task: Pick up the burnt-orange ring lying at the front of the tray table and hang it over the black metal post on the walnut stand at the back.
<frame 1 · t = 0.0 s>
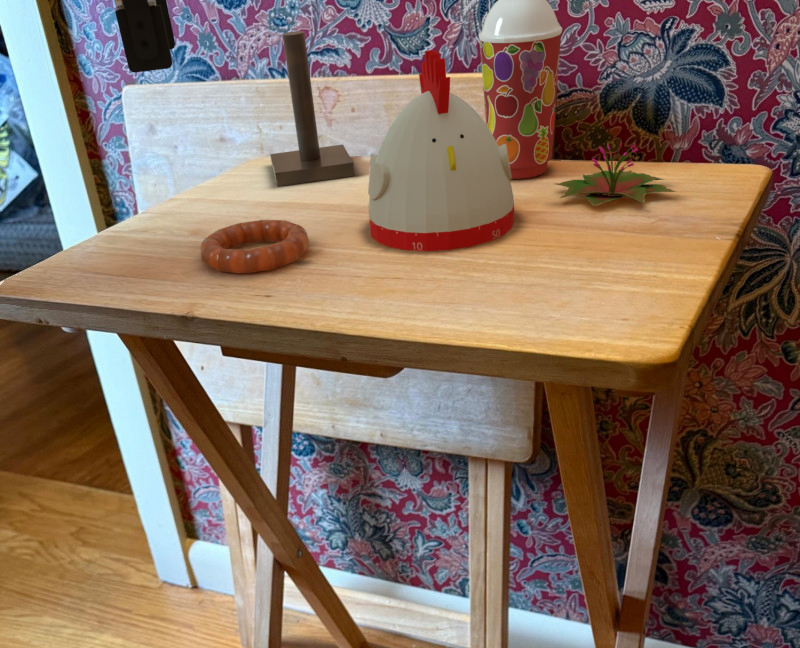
hand: (154, 59, 70), 18 cm above the table, tool pointing down, fingers open, 9 cm apart
ring: (254, 245, 83), point 1 cm above the table
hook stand: (312, 171, 106), on the table
kitchen timer: (441, 227, 86), on the table
lily flower: (612, 196, 89), on the table
smoothie: (520, 173, 98), on the table
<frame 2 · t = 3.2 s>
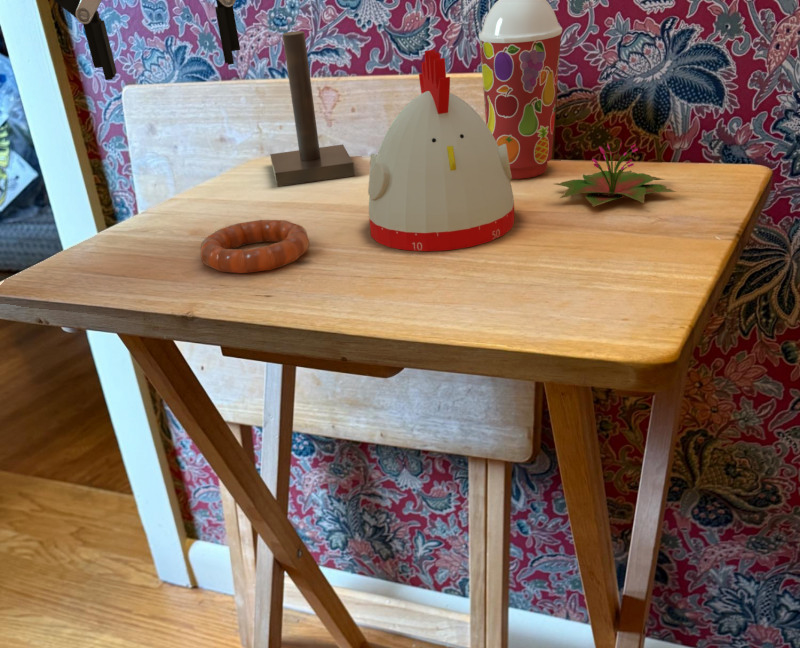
hand: (170, 69, 73), 16 cm above the table, tool pointing down, fingers open, 9 cm apart
nothing on the table moved.
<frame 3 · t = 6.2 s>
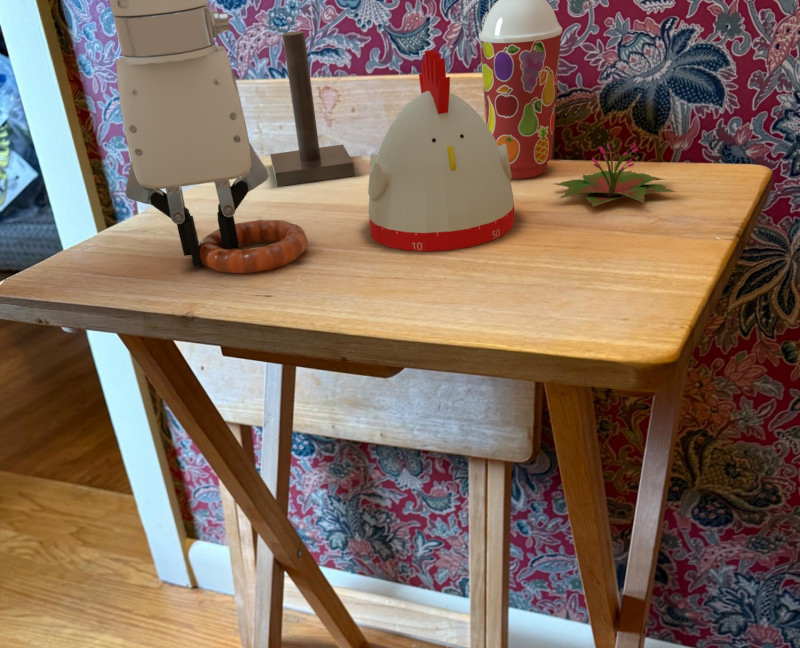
hand: (213, 257, 83), 0 cm above the table, tool pointing down, fingers closed on ring, 2 cm apart
ring: (253, 245, 83), point 1 cm above the table, touching gripper
everything else where it was.
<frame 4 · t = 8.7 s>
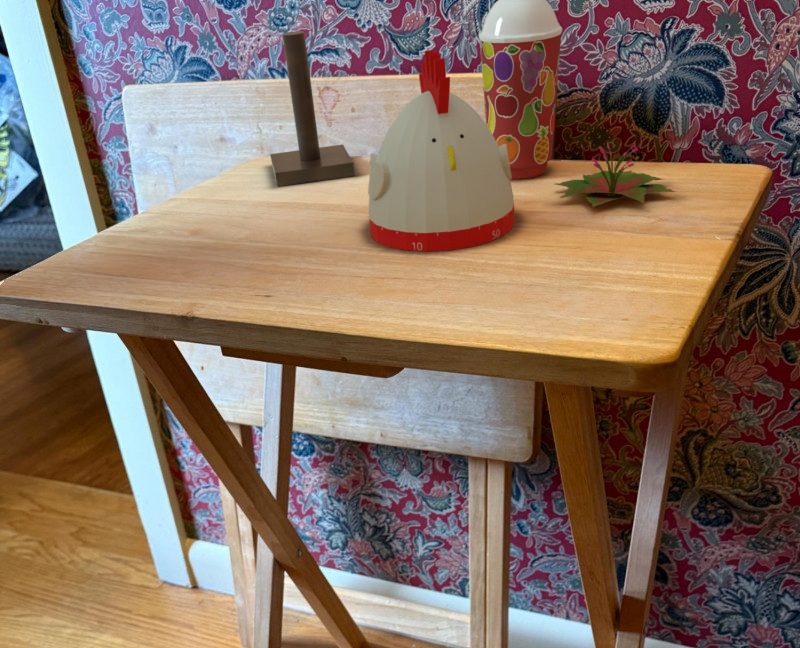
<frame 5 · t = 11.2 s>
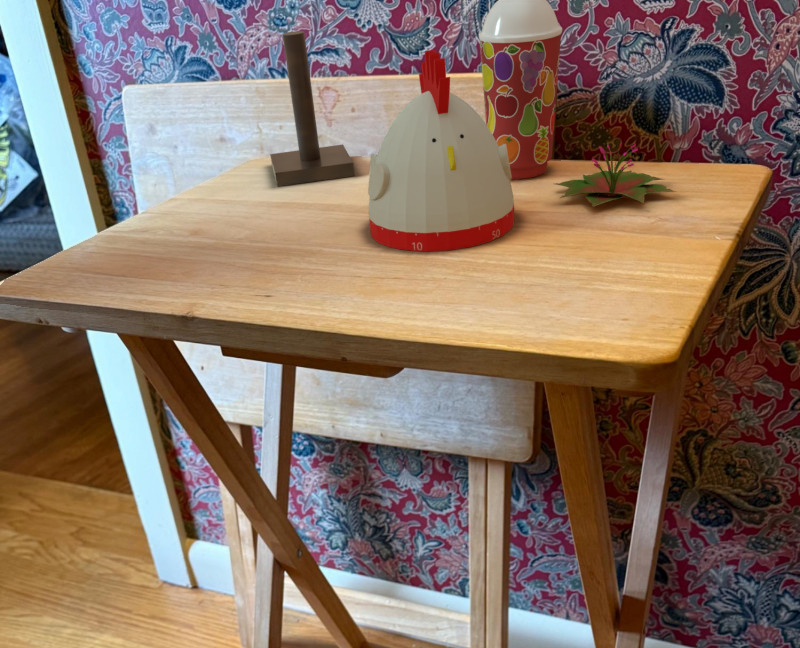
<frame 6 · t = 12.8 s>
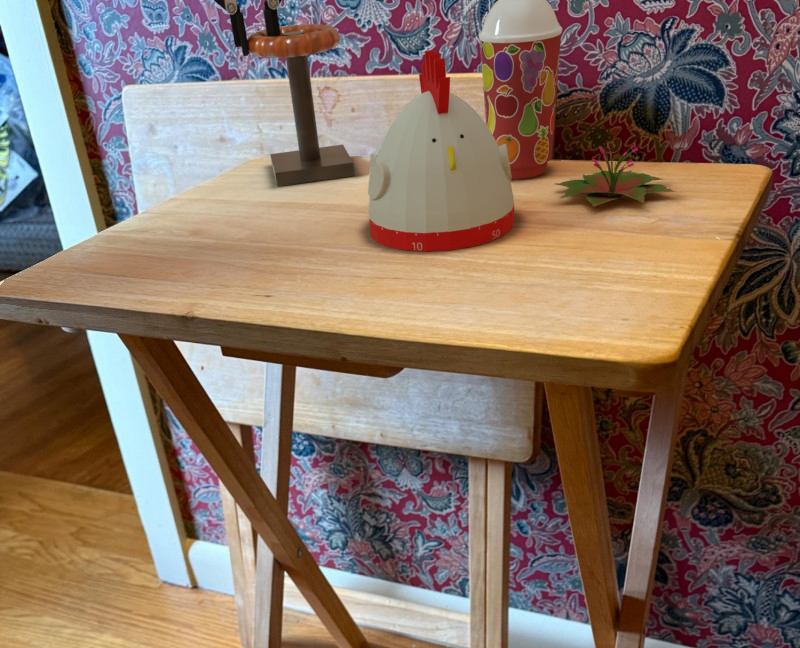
hand: (259, 50, 97), 13 cm above the table, tool pointing down, fingers closed on ring
ring: (293, 40, 97), point 14 cm above the table, touching gripper
everything else where it was.
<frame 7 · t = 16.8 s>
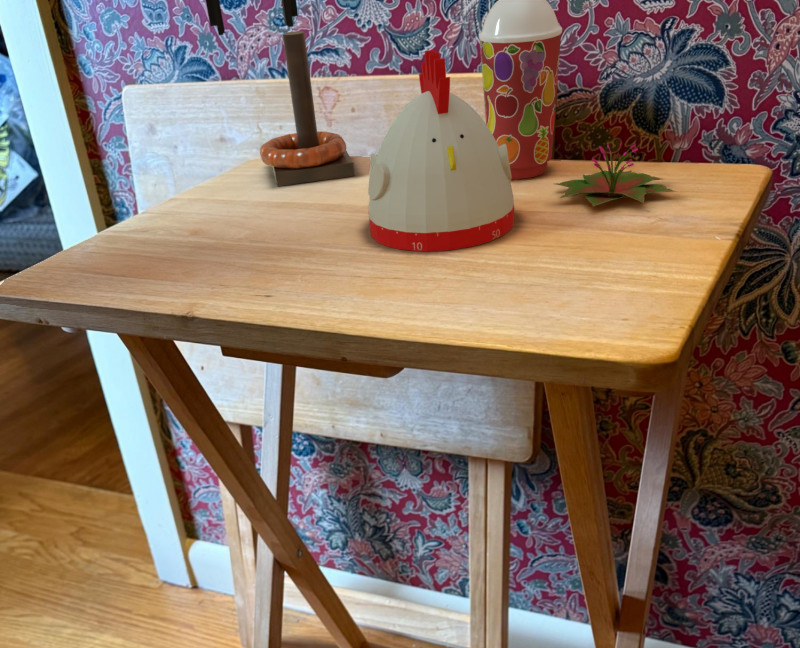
hand: (255, 27, 96), 15 cm above the table, tool pointing down, fingers open, 6 cm apart
ring: (303, 149, 104), point 2 cm above the table, touching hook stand
everything else where it was.
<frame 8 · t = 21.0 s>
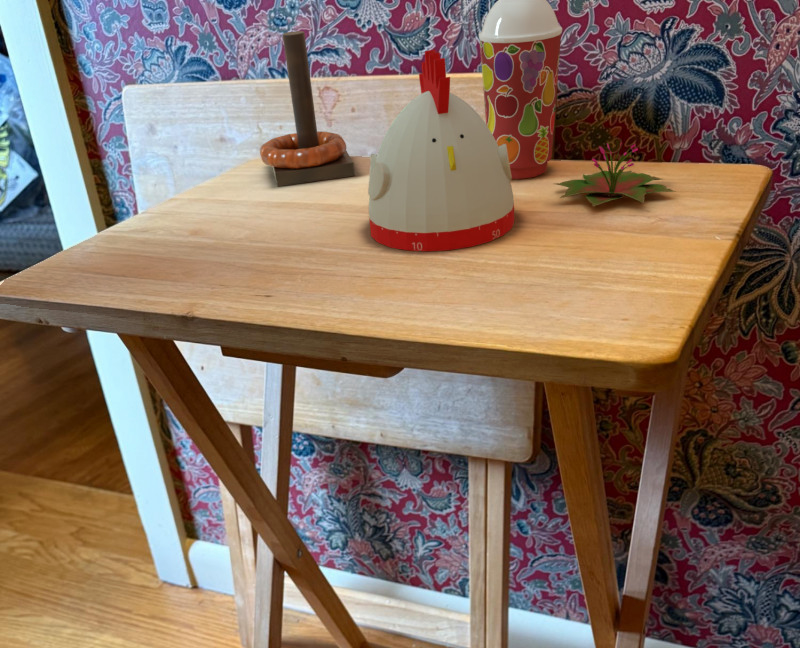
nothing on the table moved.
at the end: ring 0.7 cm from the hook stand (horizontally); ring point 2.5 cm above the table; the gripper is holding nothing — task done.
